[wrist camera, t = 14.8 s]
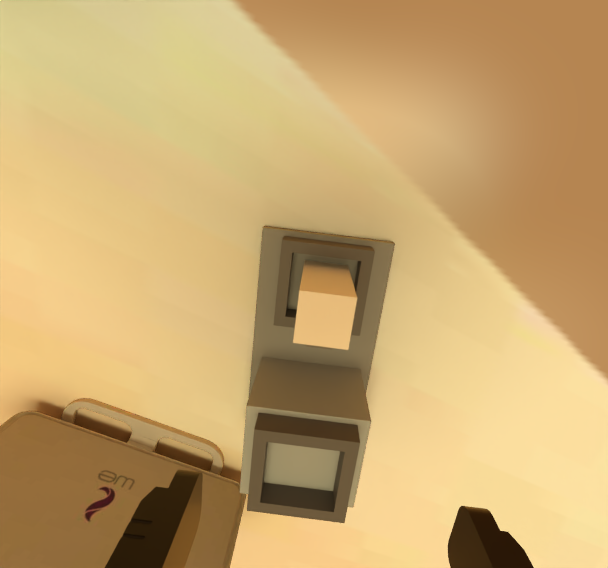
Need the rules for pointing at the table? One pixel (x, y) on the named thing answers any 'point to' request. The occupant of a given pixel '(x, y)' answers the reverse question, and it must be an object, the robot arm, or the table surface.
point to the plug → (325, 306)
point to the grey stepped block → (309, 381)
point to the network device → (98, 490)
